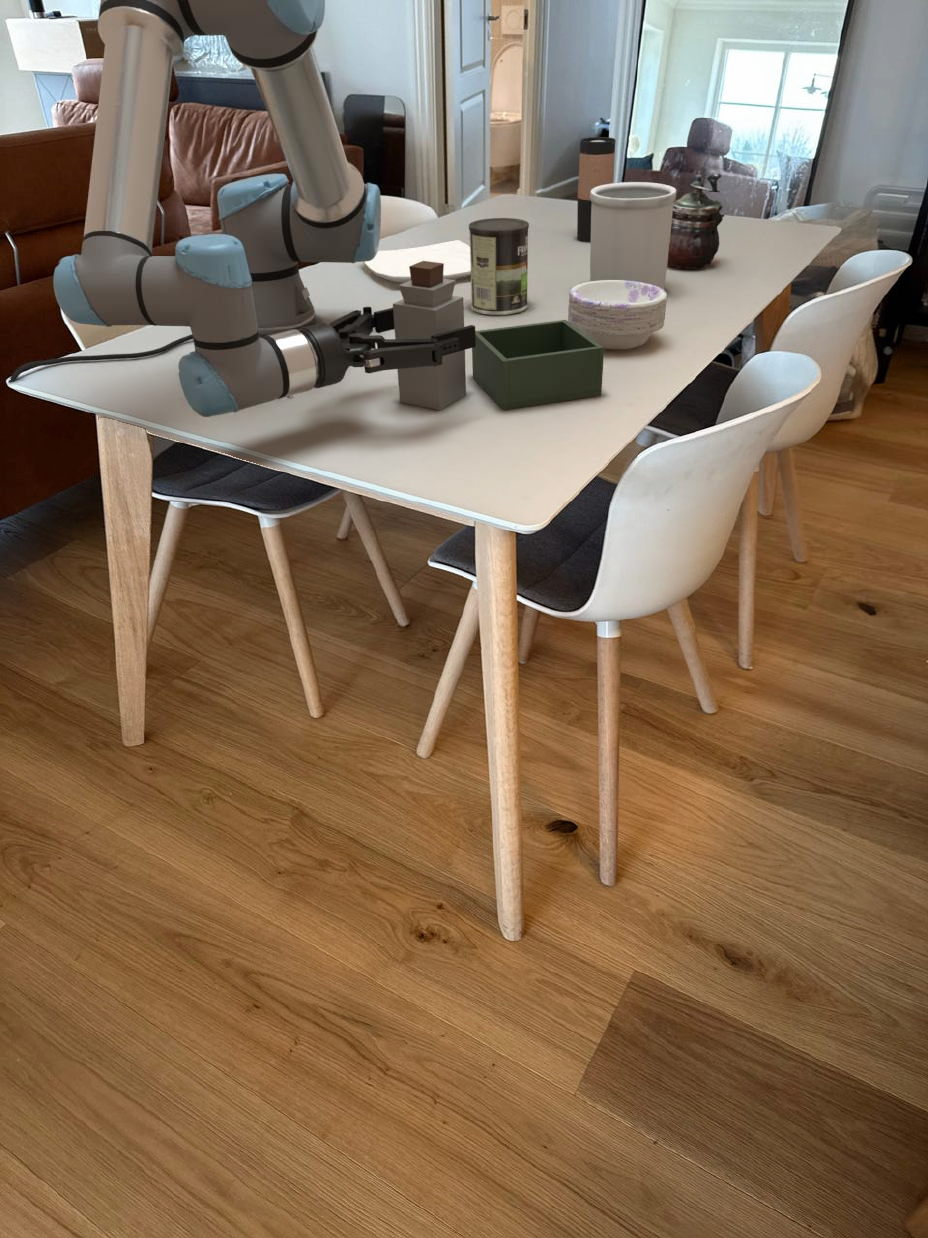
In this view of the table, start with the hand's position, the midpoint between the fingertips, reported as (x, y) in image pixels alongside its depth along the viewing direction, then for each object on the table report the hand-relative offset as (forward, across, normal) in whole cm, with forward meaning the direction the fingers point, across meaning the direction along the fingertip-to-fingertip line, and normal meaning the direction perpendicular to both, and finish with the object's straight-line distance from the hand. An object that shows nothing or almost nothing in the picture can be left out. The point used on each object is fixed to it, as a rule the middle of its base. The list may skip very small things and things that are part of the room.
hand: (443, 323), depth 123 cm
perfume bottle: (-2, 0, -10) cm, 10 cm away
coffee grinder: (+78, -23, -10) cm, 82 cm away
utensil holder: (+56, -20, -10) cm, 60 cm away
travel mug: (+81, -55, -10) cm, 99 cm away
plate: (+38, -58, -10) cm, 70 cm away
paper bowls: (+34, -1, -10) cm, 36 cm away
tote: (+12, +6, -10) cm, 16 cm away
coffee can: (+32, -28, -10) cm, 44 cm away
